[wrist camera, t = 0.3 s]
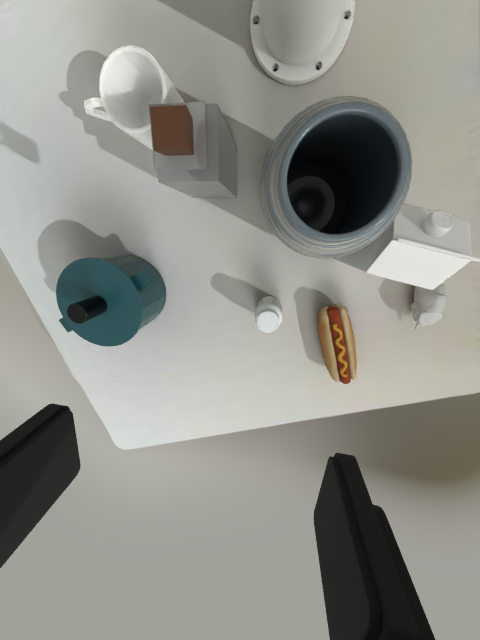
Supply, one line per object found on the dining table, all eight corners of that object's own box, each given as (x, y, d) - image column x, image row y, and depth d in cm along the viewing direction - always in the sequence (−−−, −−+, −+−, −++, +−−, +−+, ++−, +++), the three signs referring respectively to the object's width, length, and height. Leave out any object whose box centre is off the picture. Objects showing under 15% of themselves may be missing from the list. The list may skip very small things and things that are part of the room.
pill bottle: (258, 320, 46) (254, 337, 39) (255, 296, 45) (251, 309, 37) (282, 318, 45) (284, 335, 38) (280, 294, 44) (281, 306, 37)
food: (356, 368, 47) (365, 384, 42) (325, 374, 48) (331, 389, 43) (344, 296, 43) (353, 304, 38) (311, 304, 44) (316, 312, 39)
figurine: (438, 280, 40) (460, 287, 35) (422, 328, 43) (440, 339, 38) (413, 278, 40) (431, 284, 36) (398, 325, 43) (413, 336, 38)
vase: (258, 235, 41) (239, 238, 20) (280, 154, 37) (288, 48, 16) (327, 255, 41) (385, 281, 19) (357, 176, 37) (474, 97, 15)
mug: (111, 98, 38) (58, 55, 28) (189, 88, 36) (159, 38, 27) (122, 161, 40) (76, 139, 31) (195, 153, 39) (170, 128, 29)
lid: (44, 283, 39) (9, 291, 34) (110, 239, 36) (81, 241, 30) (97, 356, 42) (72, 373, 37) (162, 322, 39) (144, 336, 33)
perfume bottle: (236, 197, 40) (208, 171, 23) (194, 197, 41) (137, 172, 24) (236, 147, 38) (205, 77, 21) (192, 148, 38) (128, 82, 22)
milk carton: (377, 270, 41) (458, 299, 23) (334, 259, 41) (380, 279, 23) (398, 224, 38) (505, 216, 20) (351, 212, 38) (417, 194, 21)
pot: (78, 282, 48) (34, 293, 39) (153, 234, 43) (121, 235, 35) (117, 337, 51) (83, 360, 42) (190, 299, 46) (170, 315, 37)
